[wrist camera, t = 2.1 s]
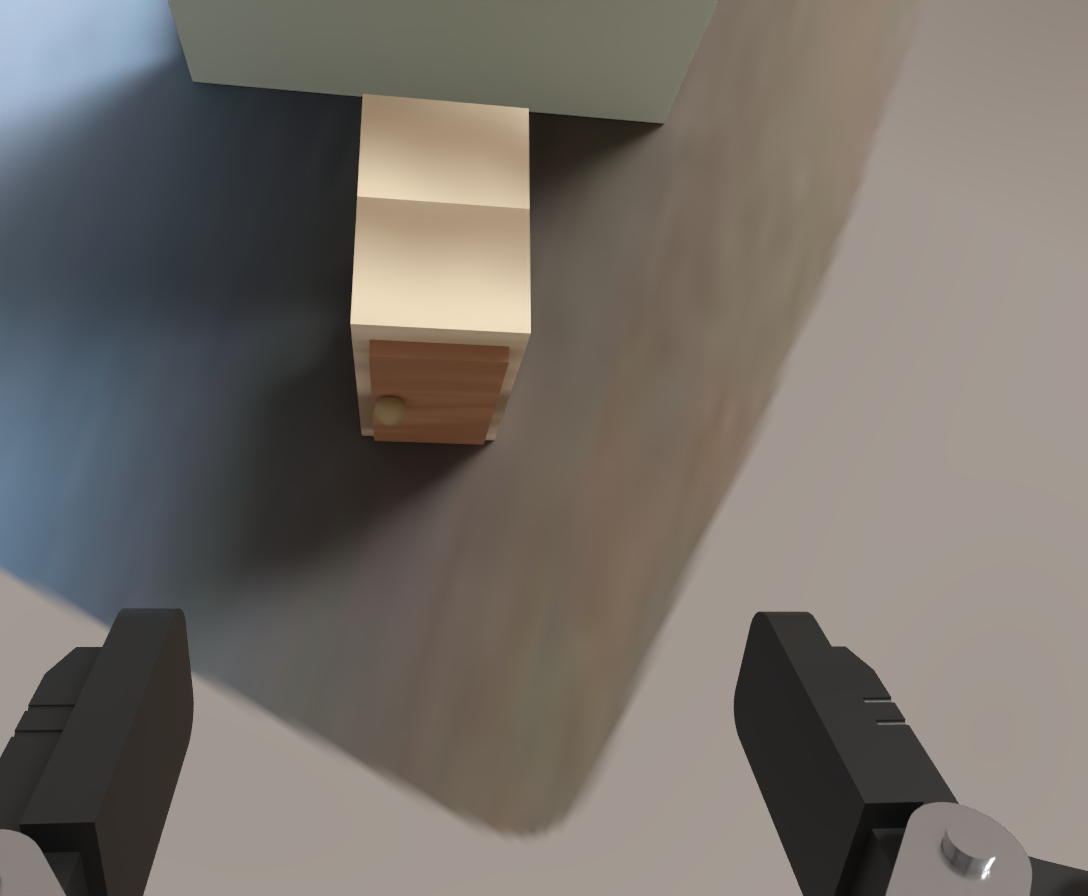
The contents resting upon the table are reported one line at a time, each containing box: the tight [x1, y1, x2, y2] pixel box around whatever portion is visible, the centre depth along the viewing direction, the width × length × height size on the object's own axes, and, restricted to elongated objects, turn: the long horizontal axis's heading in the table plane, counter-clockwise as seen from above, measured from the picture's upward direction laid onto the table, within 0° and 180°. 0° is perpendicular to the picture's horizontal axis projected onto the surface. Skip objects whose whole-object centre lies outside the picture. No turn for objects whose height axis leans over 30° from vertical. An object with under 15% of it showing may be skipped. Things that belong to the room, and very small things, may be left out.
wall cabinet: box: [350, 94, 531, 445], centre depth 32 cm, size 9×5×10 cm, turn 1°
